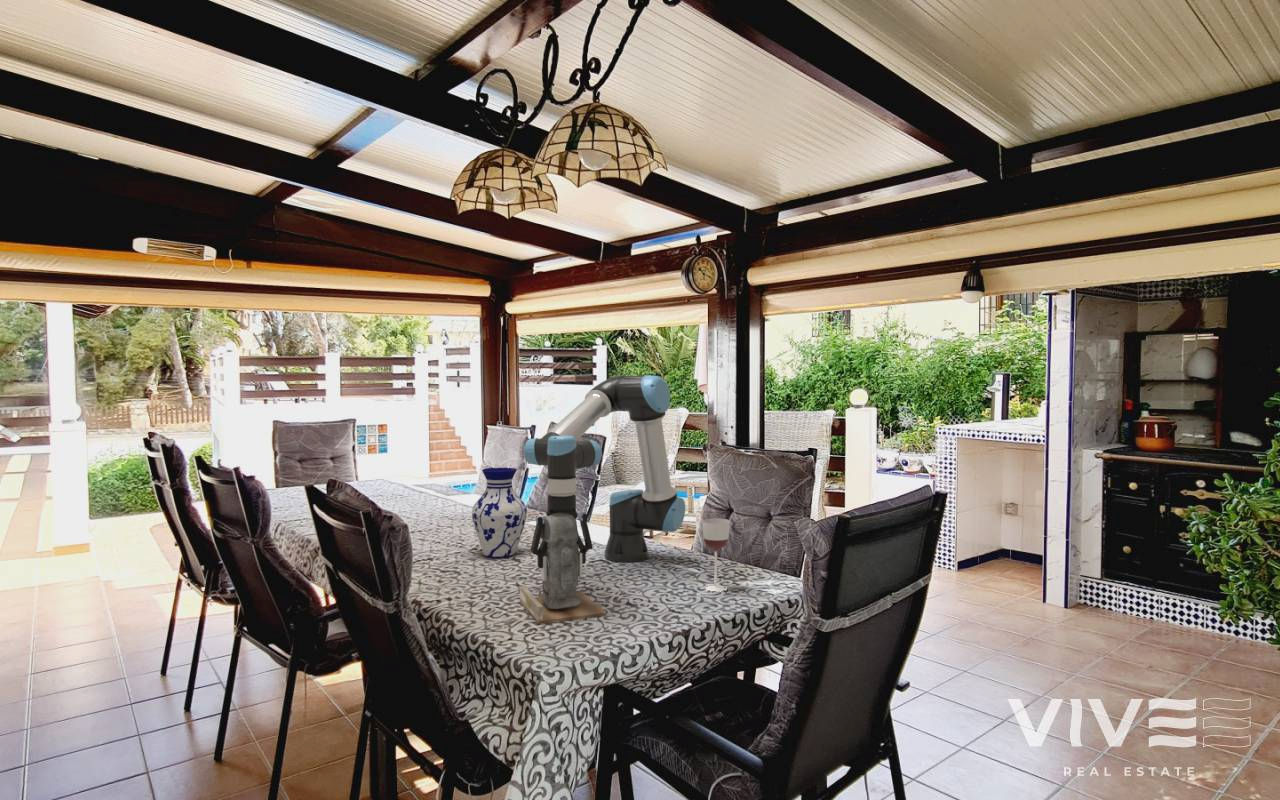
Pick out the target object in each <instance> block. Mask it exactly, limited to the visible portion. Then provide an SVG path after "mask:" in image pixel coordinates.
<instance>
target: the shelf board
mask: <svg viewBox="0 0 1280 800" xmlns="http://www.w3.org/2000/svg"><path fill="white" fill-rule="evenodd" d="M576 595H577V596H579V598H580V600H581V603H580V604H578V605H577V606H572V607H565V608H559V609H549V608H548V607H547V606H546V605H545V604H544V603H543V602H542V601H541V596H536V597H535V596H534V595H533V594H532V593H531V592H530V591H529V590H528V588H527V587H526V586H524V585H521V586H519V602H520V605H522V606H523V608H524V609H525V610H526V611H527V613H528V614H529V615H530V616H531V617H532V619H533V620H534V621H535V623H536V624H537V625H543V624H551V623H558V622H566V621H574V620H576V621H577V620H581V619H583V620H584V619H590V618H598V617H605V616H606V617H607V612H606V611H605V610H604V609H603V608H601V606H599V605H598V604H597V603H596V602H595V601H593V600H592V599H591V598H590V597H589V596H588V595H587V594H585V593H584V592H583V591H582V592H576Z"/></svg>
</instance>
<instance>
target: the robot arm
mask: <svg viewBox="0 0 1280 800" xmlns="http://www.w3.org/2000/svg"><path fill="white" fill-rule="evenodd" d="M670 405H671V392H670V388H669V386H668V384H667V382H666V381H665V379H664V378H662V377H661V376H659V375H650V374H645V375H643V374H642V375H639V374H638V375H616V376H612V377H610V378H607V379H605V380H603V381H602V382H600V383H598V384H597V385H595V386H594V387H593V388H591V389H590V390H589V391H588V392H587V393H586V394H585V397H584V400H583V401H582V402H580V403H579V404H578V405H577V406H576V407H574V409H572V411H570V412H569V413H568V414H567V415H566V416H564V418H563V419H561V420H560V421H559V422H558V423H557V424H556V425H555V426H553V427H552V428H551V429H550V430H549V431H548V432H547V433H545V434H544V435H543V436H542V437H541V438H539V437H536V438H531V439H528V440H527V441H526V442H525V444H524V446H523V447H524V448H523V455H524V459H525V461H526V462H527V463H528V464H530V465H537V466H545V467H547V493H548V495H547V512H546V513H545V515H536V516H535V528H534V533H533V537H532V541H531V542H532V543H531V546H530V550H529V552H530V553H531V554H533V555H536V557H537V560H536V561H537V567H538V568H539V569H540V579H541V581H542V580H543V581H547V578H546V556H545V555H544V553H545V551H546V549H547V542H546V541H545V540H542V539H541V538H540V537H541V533H542V529H543V524H544V523H545V522H544V520H545V517H546V516H550V515H552V514H554V513H557V512H565V513H568V514H571V515H572V516H573V517H574V518H575V519H576V520H578V521H579V523H580V528H581V532H582V537H583V540H582V538H581V537H580V535H579V537H578V540H577V544H578V548H579V551H578V556H579V573H578V578H583V565H585V564H586V561H587V555H586V554H587V552H588V551H589V550H592V549H593V543H592V539H591V535H590V531H589V526H588V514H587V513H586V512H577V503H576V502H577V496H576V494H575V493H576V492H577V482H576V481H577V476H576V475H577V470H578V469H585V468H591V467H594V466H596V465H597V464H599V463H600V462H601V459H602V457H603V455H602V454H603V451H602V446H601V445H600V444H599V443H598V442H597V441H595V440H592V439H584V440H578V439H579V438H581V437H582V436H583V435H584V434H585V433H587V431H588V430H589V429H590V428H591V427H592V426H593V425H594V424H595V423H597V421H598V420H600V419H601V418H604V417H605V418H606V417H607V416H609V415H610V413H615V412H628V414H629V420H630V421H631V422H632V423H634V424H635V428H636V435H637V441H638V442H637V443H638V450H639V456H640V462H641V467H642V474H643V481H644V488H645V489H644V490H643V489H638V488H637V489H626V490H619V491H615V492H613V493H612V494H610V497H609V506H608V507H609V537H608V539H607V543H606V546H605V549H604V558H605V559H606V560H608V561H611V562H619V563H620V562H621V563H635V562H641V561H645V560H646V559H648V558H649V549H648V545H647V542H646V539H645V536H644V530H649V531H657V532H663V533H666V532H667V533H668V532H669V533H673V532H677V531H678V530H679V529H680V528H681V526H682V524H683V521H684V519H685V514H686V502H685V499H684V498H682V497H681V496H678V495H677V489H676V488H675V487H673V486H672V484H671V477H670V467H669V463H668V454H667V449H666V442H665V433H664V427H663V422H662V421H663V418H664V417H665V416H666V412H668V409H670ZM540 540H541V543H540ZM583 541H584V542H583Z"/></svg>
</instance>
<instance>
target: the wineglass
mask: <svg viewBox="0 0 1280 800" xmlns="http://www.w3.org/2000/svg"><path fill="white" fill-rule="evenodd" d="M701 522H702V523H701V525H702V527H701V528H702V536H703V538H702V539H703V542H704V543H705V545H706V546H707V547H708V548H709V549H711V550H712V551H713V552H714V553H713V554H714V559H713V561H714V563H713V565H714V566H713V567H714V568H713V569H714V573H713V575H714V578H713V579H714V580H713V583H714V584H713V585H714V586H713V585H707V586H708V587H706V586H705V587H706V589H707V590H710V591H720V592H721V591H723V590H724V589H725V588H724V587H725V586H723V587H722V585H718V551H719V550H721V549H723V548H724V547H725V546H726V544H727V543H728V541H729V537H730V520H729V519H727V518H715V517H714V518H711V517H710V518H705V519H702V520H701ZM721 593H722V592H721Z"/></svg>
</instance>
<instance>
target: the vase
mask: <svg viewBox="0 0 1280 800" xmlns="http://www.w3.org/2000/svg"><path fill="white" fill-rule="evenodd" d="M481 471H482V474H483V475H484V477H485V480H486V488H485V490H484V492H483V493H482V495H481V496H480V497H479V499H477V500H476V502H475V503H474V505H473V506H472V509H471V517H472V518H471V520H472V523H473V526H474V529H475V532H476V536H477V539H478V542H479V545H480V547H481V550H482V551H481V552H482V554H483V557H485V558H489V559H507V558H511V557H514V556H516V553H517V550H518V547H519V543H520V541H521V538H522V534H523V532H524V531H523V530H524V528H525V524H526V520H527V517H528V516H527V515H528V510H527V506H526V503H525V502H524V501H523V500H522V499H521V498H520V496H519V495H518V494H517V493H516V492H515V490H514V488H513V479H514V476H515V475H516V472H517V468H514V467H489V468H488V467H487V468H483V469H481Z"/></svg>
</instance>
